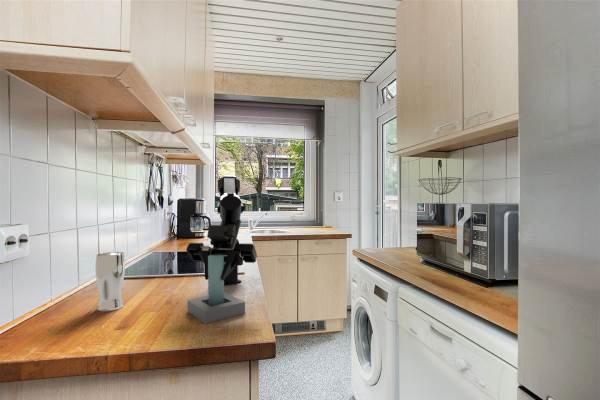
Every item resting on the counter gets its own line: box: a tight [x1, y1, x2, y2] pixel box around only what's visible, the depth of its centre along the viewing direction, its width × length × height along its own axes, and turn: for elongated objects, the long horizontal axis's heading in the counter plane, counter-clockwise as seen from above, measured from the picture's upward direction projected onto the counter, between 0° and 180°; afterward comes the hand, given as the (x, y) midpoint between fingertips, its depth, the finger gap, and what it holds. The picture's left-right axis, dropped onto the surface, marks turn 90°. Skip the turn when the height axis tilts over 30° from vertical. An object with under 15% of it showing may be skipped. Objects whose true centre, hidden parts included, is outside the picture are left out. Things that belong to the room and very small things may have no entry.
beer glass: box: [95, 251, 126, 313], centre depth 88 cm, size 7×7×15 cm
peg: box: [207, 254, 225, 306], centre depth 84 cm, size 4×4×13 cm
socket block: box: [187, 292, 246, 325], centre depth 84 cm, size 11×11×3 cm
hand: (214, 279), depth 83 cm, fingers closed on peg, 4 cm apart
